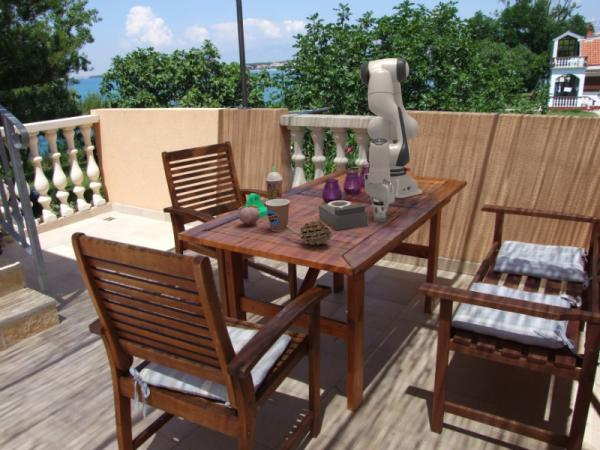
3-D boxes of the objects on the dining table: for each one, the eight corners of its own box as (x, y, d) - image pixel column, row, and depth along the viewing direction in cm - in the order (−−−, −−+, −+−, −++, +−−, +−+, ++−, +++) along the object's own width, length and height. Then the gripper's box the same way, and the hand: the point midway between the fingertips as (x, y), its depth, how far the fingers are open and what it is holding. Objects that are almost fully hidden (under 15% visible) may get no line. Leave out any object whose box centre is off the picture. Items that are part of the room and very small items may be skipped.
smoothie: (265, 208, 255) (262, 168, 249) (270, 203, 263) (267, 164, 257) (281, 208, 253) (279, 168, 247) (286, 203, 261) (283, 164, 255)
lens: (382, 217, 230) (382, 195, 227) (388, 221, 225) (388, 198, 222) (370, 219, 228) (370, 197, 225) (377, 223, 223) (377, 200, 220)
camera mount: (252, 220, 237) (251, 198, 234) (243, 217, 243) (241, 195, 240) (273, 214, 245) (272, 193, 242) (263, 211, 250) (262, 190, 247)
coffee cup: (262, 229, 222) (260, 202, 219) (280, 223, 229) (278, 197, 226) (278, 234, 215) (276, 206, 212) (296, 228, 222) (294, 201, 218)
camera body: (347, 213, 239) (347, 194, 236) (367, 225, 221) (367, 204, 218) (319, 218, 234) (318, 198, 231) (337, 230, 216) (336, 209, 213)
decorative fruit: (256, 221, 235) (255, 199, 232) (262, 225, 228) (260, 203, 225) (236, 224, 232) (234, 202, 229) (241, 229, 225) (239, 206, 222)
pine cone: (338, 243, 201) (337, 219, 198) (325, 251, 193) (324, 226, 190) (291, 235, 213) (289, 212, 210) (277, 243, 205) (275, 219, 202)
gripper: (398, 181, 213) (398, 213, 217) (374, 172, 231) (375, 202, 235) (385, 183, 211) (385, 215, 215) (362, 174, 229) (362, 204, 233)
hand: (379, 208), depth 225 cm, fingers open, 8 cm apart
